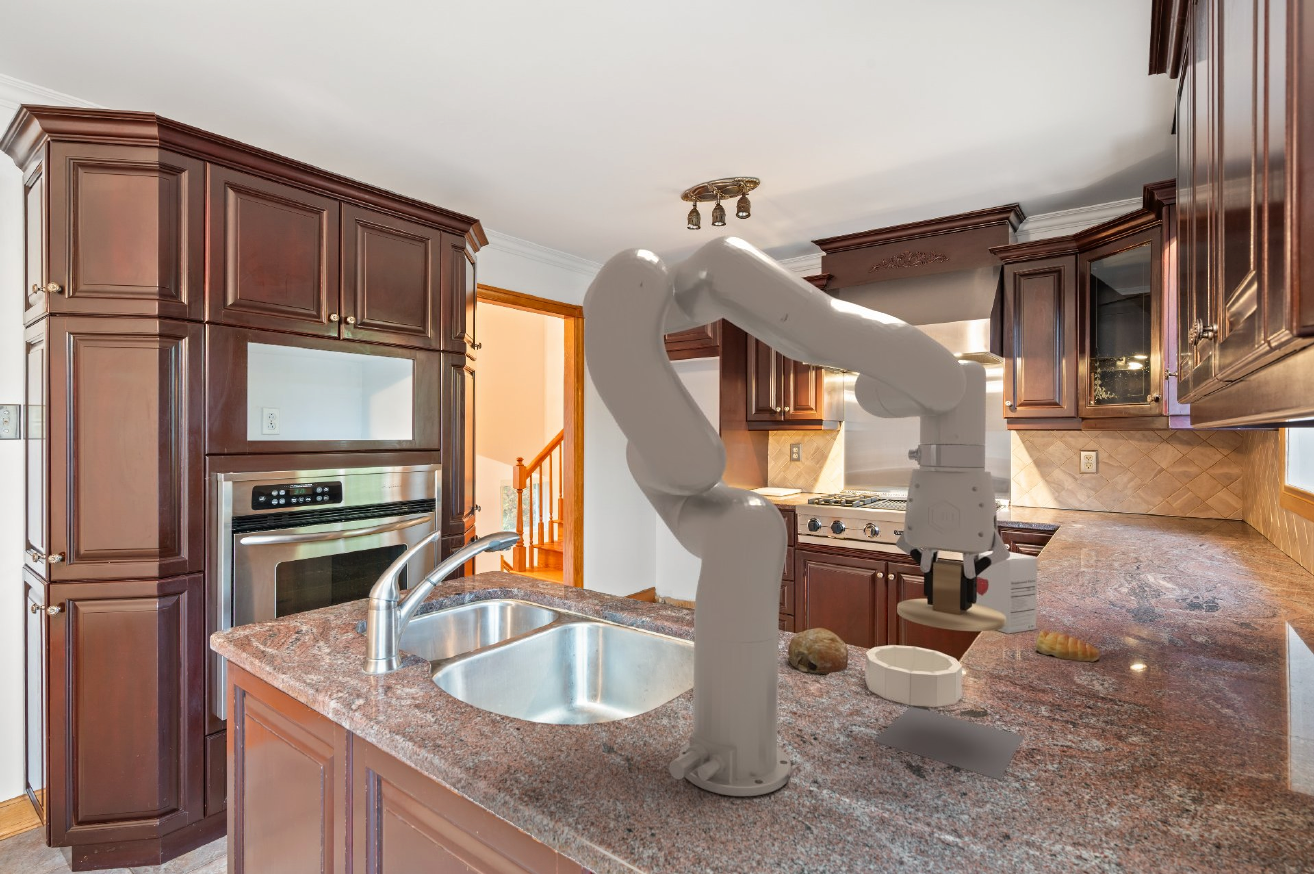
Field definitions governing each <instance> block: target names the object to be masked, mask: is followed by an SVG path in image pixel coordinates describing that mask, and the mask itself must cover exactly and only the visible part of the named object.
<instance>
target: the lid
mask: <svg viewBox="0 0 1314 874" xmlns="http://www.w3.org/2000/svg"><path fill="white" fill-rule="evenodd" d="M963 572H964V563H963V561H955V560H947V559H939V560H937V561H936V562H934V563H933V605H928V604H927V598H913V599H908V600H907V599H905V600H902V601H899V602H898V603H897V604H896V605H897V607H896V608H897V610H896V611H897V615H898V616H900V617H901V618H903V619H905V620H908V621H910V622H913V623H916V624H920V625H923V626H928V627H931V628H932V627H933V628H938V629H944V630H950V631H951V630H952V631H964V632H989V631H990V632H991V631H997V629H1001V628H1003V627H1005V625H1006V617H1005V615H1004V614H1003V613H1001V612H999V611H997V610H994V609H992V608H988V607H985V606H981V605H977V604H972V607H971V608H970V609H968V610H967V611H964V610H961V609H960V581H961V578H962V577H963Z"/></svg>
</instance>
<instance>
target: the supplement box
mask: <svg viewBox="0 0 1314 874" xmlns="http://www.w3.org/2000/svg"><path fill="white" fill-rule="evenodd" d="M992 552H993V550H988V551H986V552H984V553H981V554H979V558H980V559H981V558H982V557H984V556H987V555H989V554H992ZM1009 553H1010V557H1009V558H1008V559H1006V560H1004V561H1001V562H999V563H996V564H993V565H991V566H989V567H988V568H987V569H985V570H984V571H983V572H982V573H980V574H979V575H978V576H977V601H976V603H975V604H977V605H981V606H985V607H988V608H992V609H994V610H997V611H999V612H1001V613H1003V614H1004V615H1005V617H1006V625H1005V627H1003V628H1001V629H997V630H996V631H998V632H1001V633H1004V634H1009V635H1010V634H1015V633H1021V632H1027V631H1033V630H1037V607H1038V605H1037V603H1038V600H1037V598H1038V597H1037V596H1038V595H1037V594H1038V564H1039V563H1038V561H1039V557H1037V556H1035V555H1034V556H1033V555H1028V554H1022V553H1016V552H1012V551H1009ZM972 604H973V603H972Z"/></svg>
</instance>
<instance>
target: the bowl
mask: <svg viewBox="0 0 1314 874" xmlns="http://www.w3.org/2000/svg"><path fill="white" fill-rule="evenodd" d="M865 683H866V686H867V688H868V690H869V692H872V693H873V694H875V695H878V696H879V697H881V698H883V699H885V700H889V701H893V702H897V703H901V704H904V705H907V706H908V705H909V706H913V707H928V708H929V707H931V708H940V707H945V706H951V705H956V704H957V703H958V702H959V701H960V700H961V699H962V696H963V665H962V664H961V663H960V662H959V661H958V660H957V658H956V657H953V656H950V655H948V654H945V653H944V652H940V651H938V650H933V649H930V648H924V647H919V646H911V645H908V646H907V645H895V644H890V645H882V646H874V647H872V648H871V649H869V650H868V651H866V652H865Z"/></svg>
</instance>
